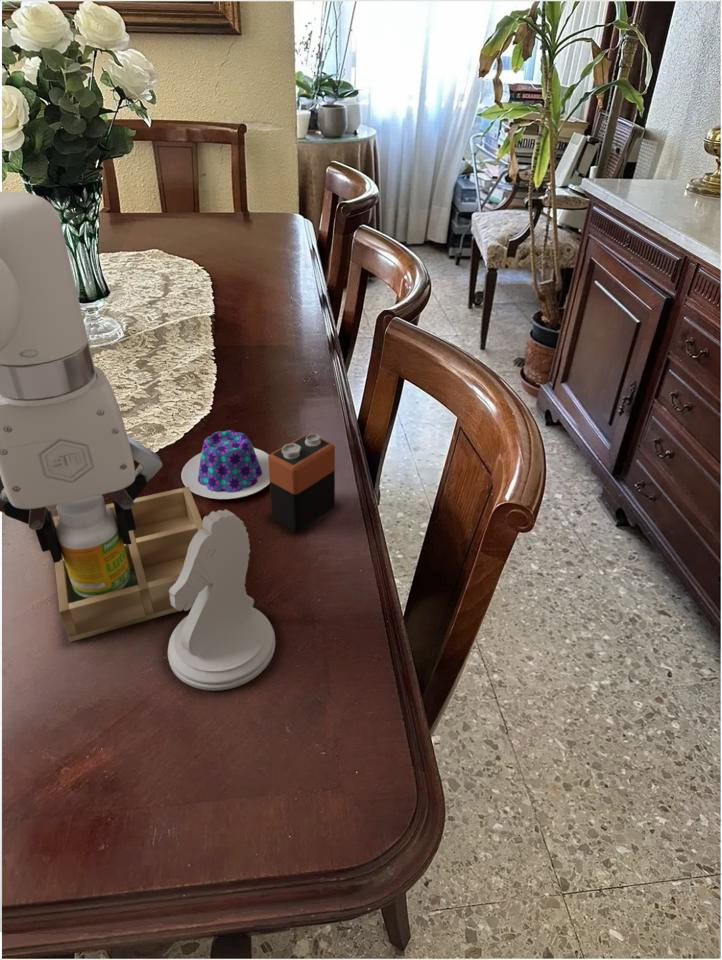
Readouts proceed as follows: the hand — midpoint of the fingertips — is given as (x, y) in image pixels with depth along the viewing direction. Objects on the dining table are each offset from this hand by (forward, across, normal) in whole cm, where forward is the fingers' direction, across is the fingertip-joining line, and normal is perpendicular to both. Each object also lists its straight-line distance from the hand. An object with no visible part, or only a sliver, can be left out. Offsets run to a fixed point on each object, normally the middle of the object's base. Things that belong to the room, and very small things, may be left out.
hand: (91, 542), depth 62 cm
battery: (+8, +23, +6) cm, 25 cm away
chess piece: (+8, +9, -10) cm, 16 cm away
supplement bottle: (+5, 0, 0) cm, 5 cm away
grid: (+8, +4, +4) cm, 9 cm away
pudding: (+8, +17, +17) cm, 25 cm away
